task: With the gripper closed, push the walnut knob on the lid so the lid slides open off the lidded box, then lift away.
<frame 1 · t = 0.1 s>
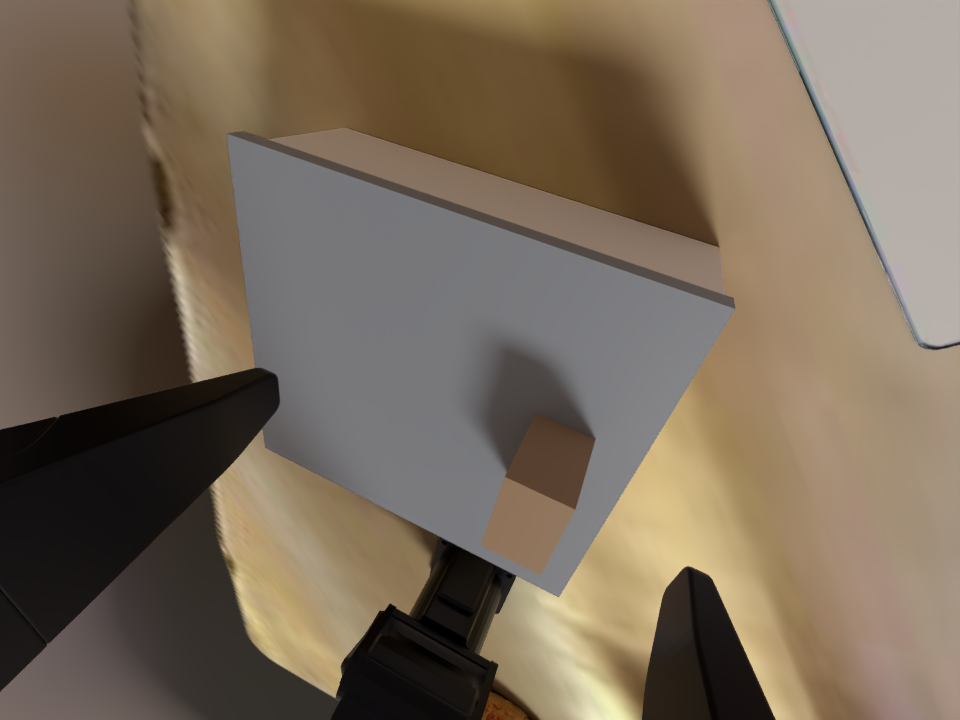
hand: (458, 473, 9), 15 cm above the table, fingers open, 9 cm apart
lidded box: (480, 330, 25), on the table
lid: (402, 421, 18), point 8 cm above the table, slide at 0.0 cm
croissant: (502, 711, 49), on the table
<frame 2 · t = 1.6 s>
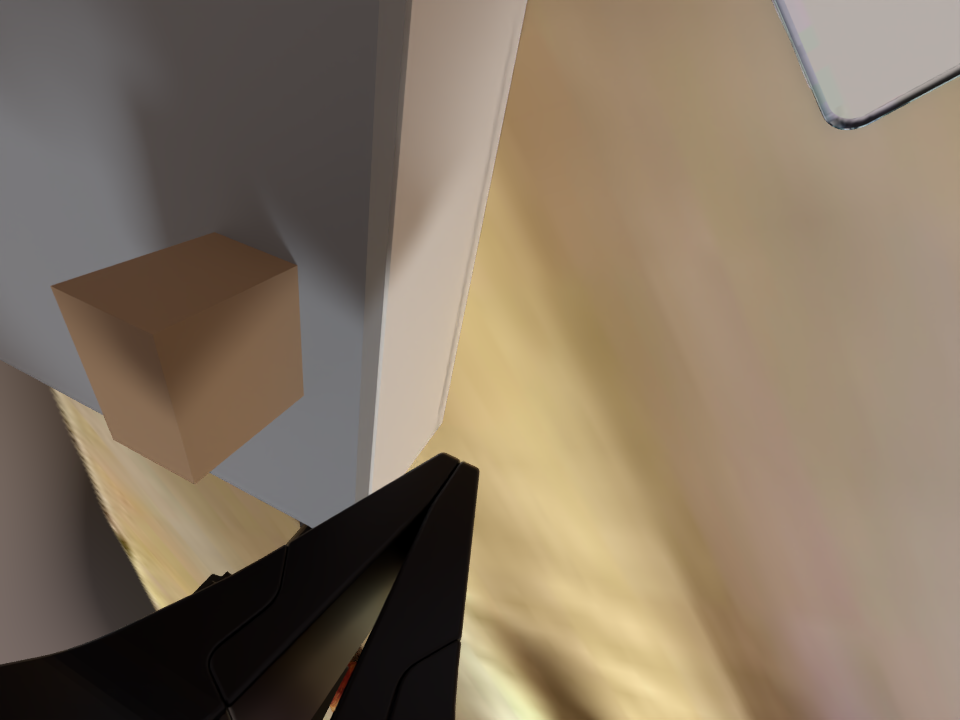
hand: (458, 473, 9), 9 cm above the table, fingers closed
lidded box: (273, 194, 19), on the table
lid: (39, 261, 12), point 8 cm above the table, slide at 0.0 cm
croissant: (418, 711, 43), on the table
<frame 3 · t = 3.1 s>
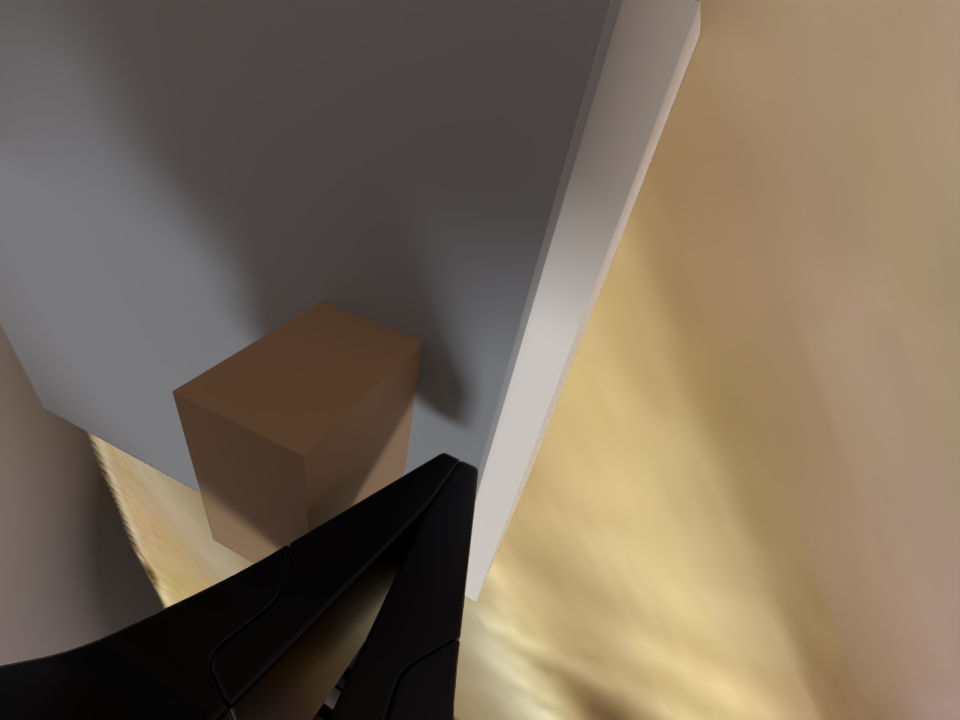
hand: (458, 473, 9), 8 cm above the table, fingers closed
lidded box: (358, 239, 17), on the table
lid: (116, 327, 11), point 8 cm above the table, slide at 1.0 cm, touching gripper
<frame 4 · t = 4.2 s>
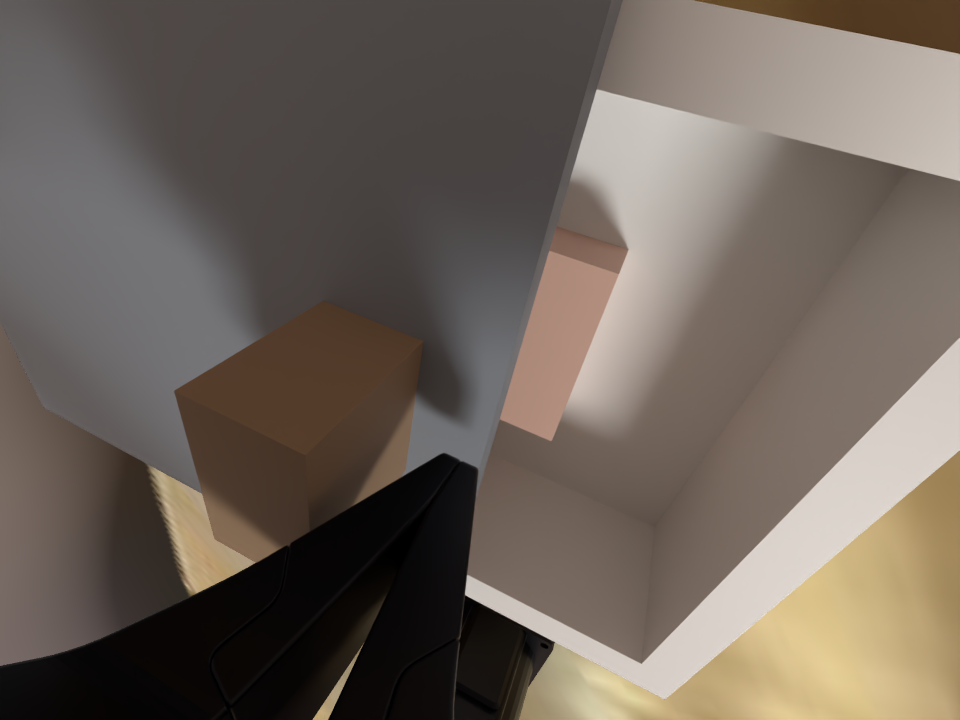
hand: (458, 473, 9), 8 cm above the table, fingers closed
lidded box: (514, 296, 16), on the table
lid: (117, 327, 11), point 8 cm above the table, slide at 7.3 cm, touching gripper
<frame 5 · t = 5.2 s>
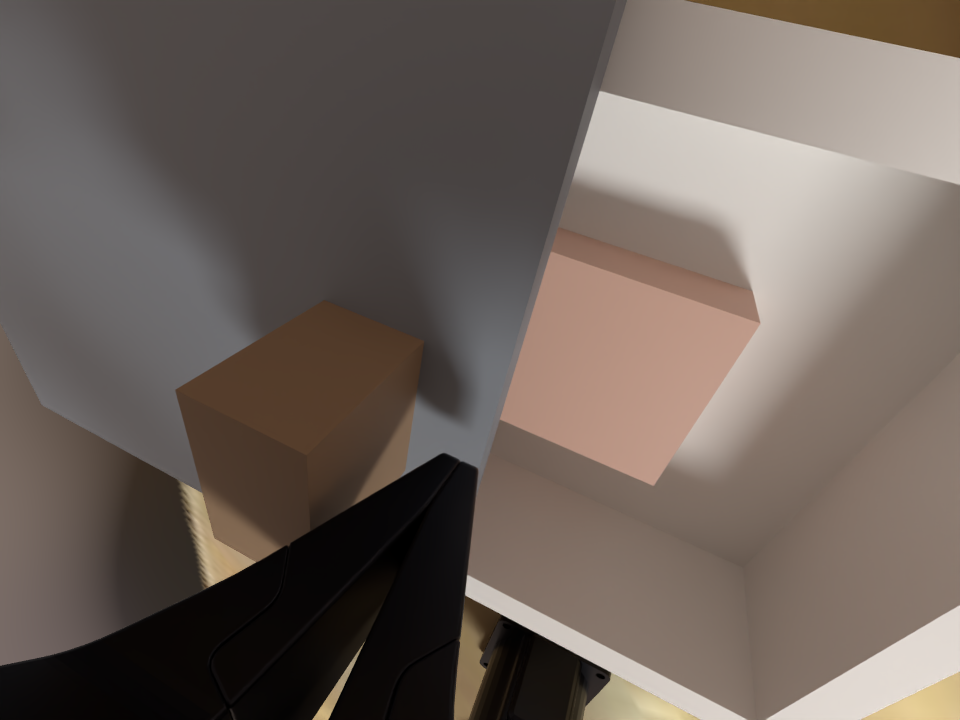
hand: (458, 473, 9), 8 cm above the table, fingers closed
lidded box: (608, 330, 15), on the table
lid: (117, 325, 11), point 8 cm above the table, slide at 10.7 cm, touching gripper
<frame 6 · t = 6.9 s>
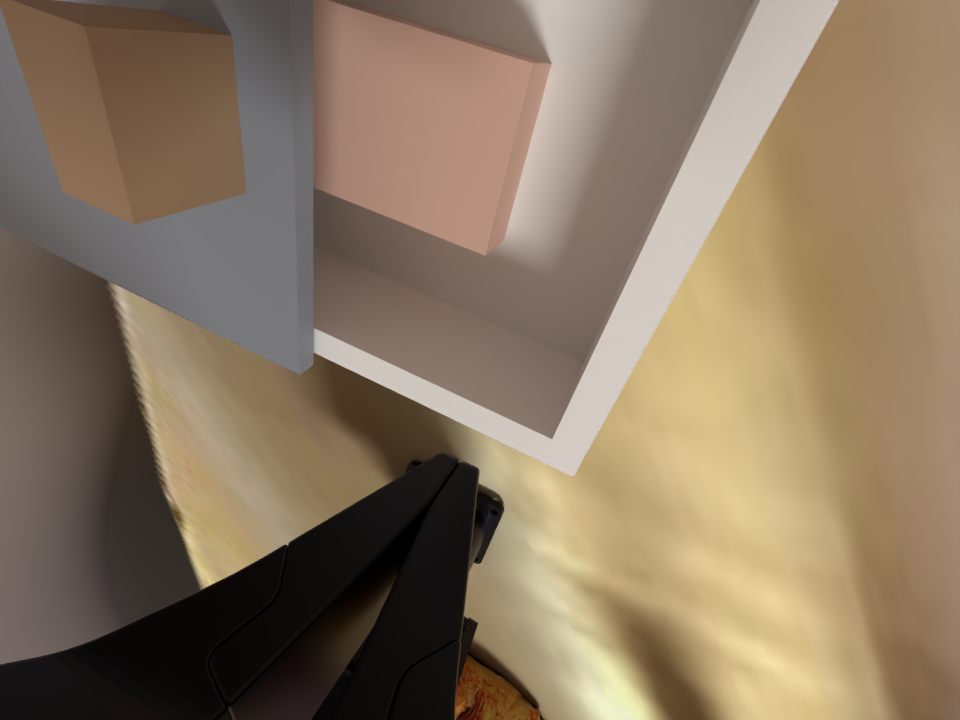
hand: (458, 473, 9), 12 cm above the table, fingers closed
lidded box: (459, 132, 17), on the table
croissant: (489, 686, 42), on the table
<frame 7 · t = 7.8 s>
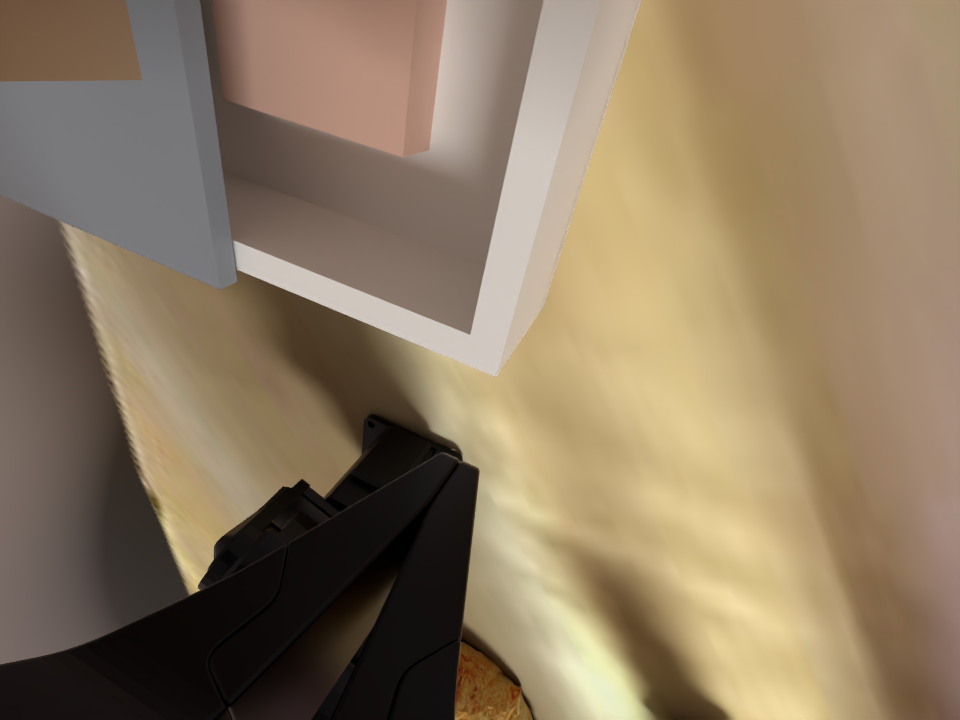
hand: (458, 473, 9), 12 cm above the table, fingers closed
lidded box: (378, 40, 17), on the table
croissant: (470, 666, 41), on the table
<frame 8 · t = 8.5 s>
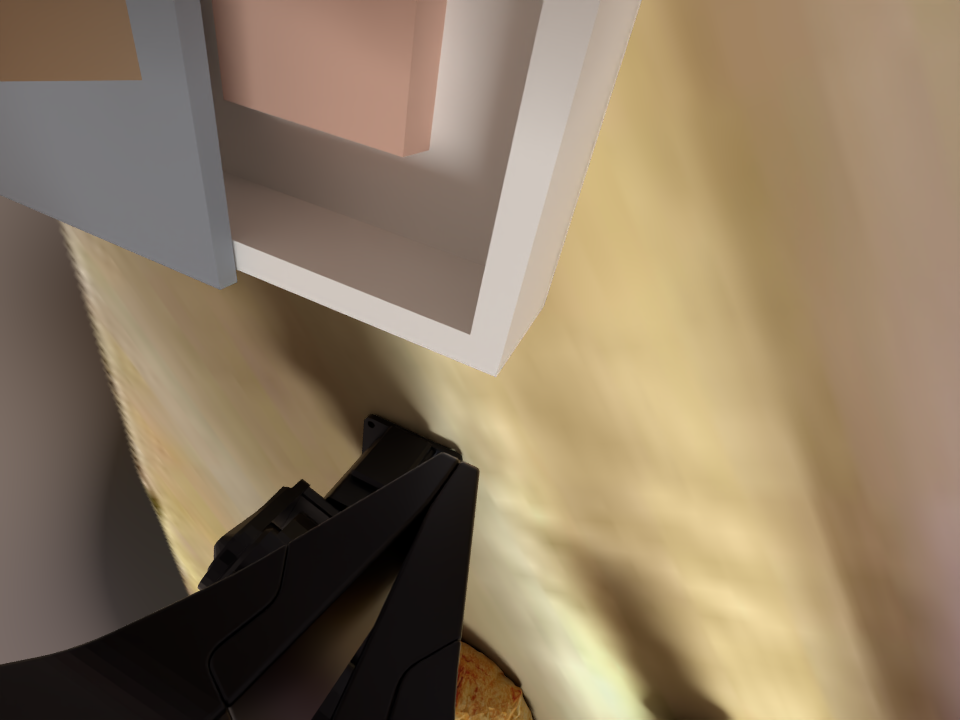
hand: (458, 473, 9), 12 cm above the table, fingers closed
lidded box: (378, 40, 17), on the table
croissant: (471, 666, 41), on the table
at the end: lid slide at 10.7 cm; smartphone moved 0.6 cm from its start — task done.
